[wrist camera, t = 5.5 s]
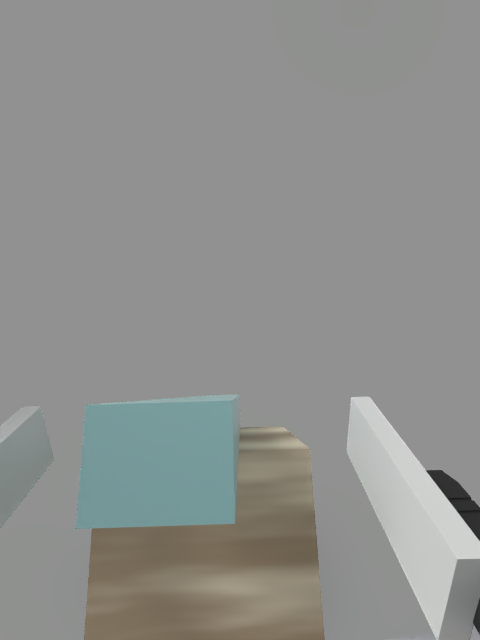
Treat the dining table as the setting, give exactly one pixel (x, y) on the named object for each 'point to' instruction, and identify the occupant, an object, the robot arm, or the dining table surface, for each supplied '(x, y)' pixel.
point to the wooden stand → (219, 561)
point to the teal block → (160, 463)
